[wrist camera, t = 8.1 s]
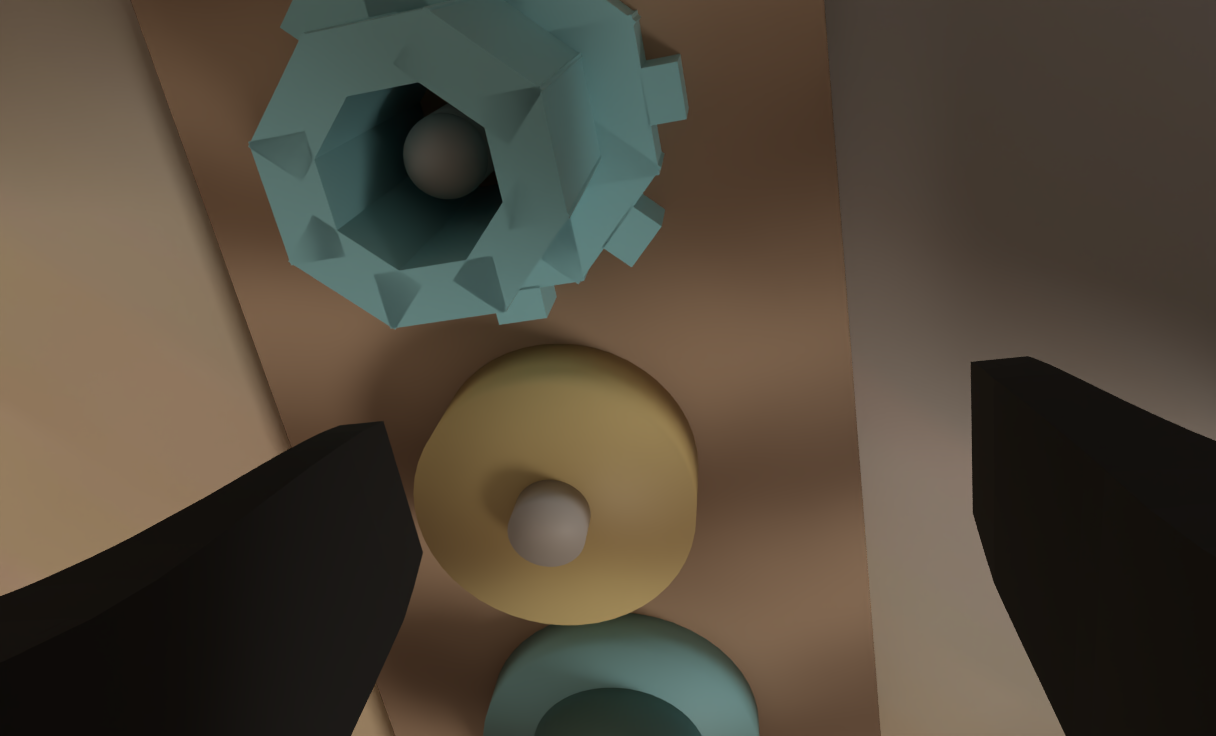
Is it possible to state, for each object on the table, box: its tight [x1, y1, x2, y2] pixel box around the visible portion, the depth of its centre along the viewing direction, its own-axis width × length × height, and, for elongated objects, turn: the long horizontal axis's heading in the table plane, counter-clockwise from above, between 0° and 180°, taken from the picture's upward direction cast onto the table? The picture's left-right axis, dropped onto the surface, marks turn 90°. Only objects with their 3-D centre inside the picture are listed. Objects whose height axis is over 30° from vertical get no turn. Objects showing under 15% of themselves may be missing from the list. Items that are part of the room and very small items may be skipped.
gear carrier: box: [131, 0, 881, 736], centre depth 19 cm, size 23×13×7 cm, turn 10°
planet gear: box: [248, 0, 689, 329], centre depth 16 cm, size 8×8×5 cm
